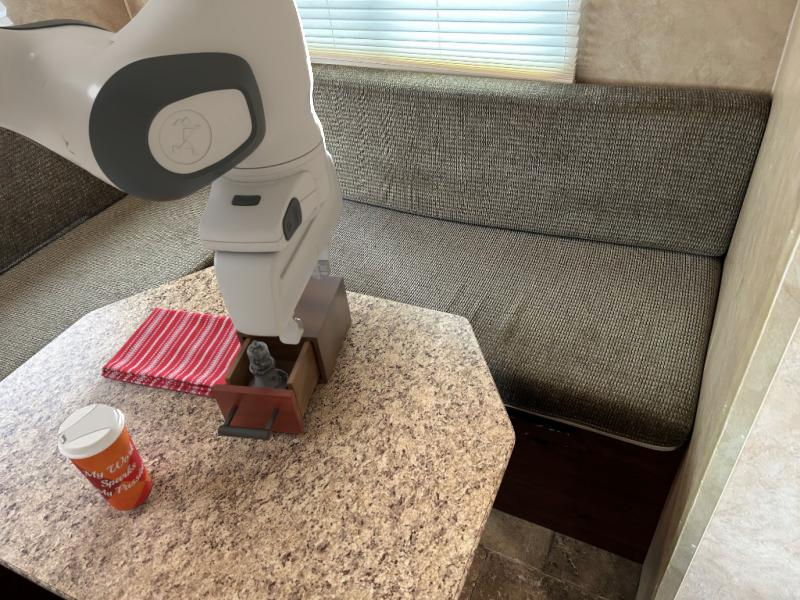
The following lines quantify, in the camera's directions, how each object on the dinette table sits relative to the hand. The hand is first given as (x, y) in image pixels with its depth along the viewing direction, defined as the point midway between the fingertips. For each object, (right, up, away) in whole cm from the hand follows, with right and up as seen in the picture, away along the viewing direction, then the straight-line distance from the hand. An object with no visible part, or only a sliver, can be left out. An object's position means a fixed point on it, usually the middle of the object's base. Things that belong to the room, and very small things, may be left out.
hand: (308, 305), depth 58 cm
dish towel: (-26, -9, +43) cm, 51 cm away
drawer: (-10, -15, +31) cm, 36 cm away
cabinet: (-7, -7, +41) cm, 43 cm away
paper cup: (-27, -25, +23) cm, 44 cm away
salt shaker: (-10, -14, +30) cm, 35 cm away
